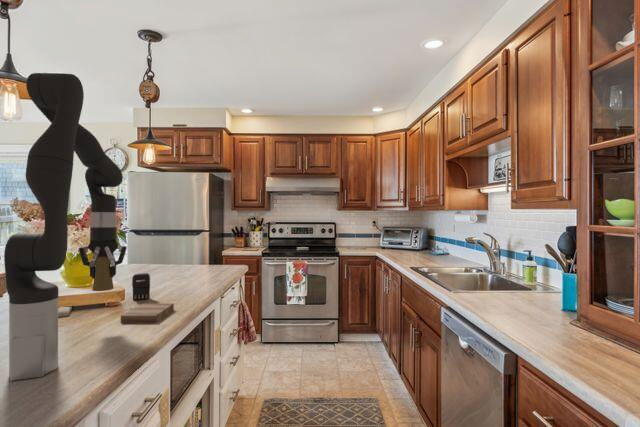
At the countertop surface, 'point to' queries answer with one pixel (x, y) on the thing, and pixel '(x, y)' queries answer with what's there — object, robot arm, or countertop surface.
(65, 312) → the washcloth
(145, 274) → the battery charger
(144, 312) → the walnut board
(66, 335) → the countertop surface
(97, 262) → the cork
